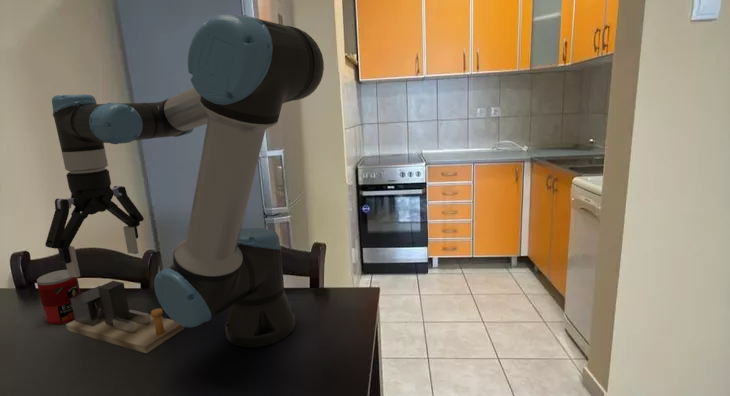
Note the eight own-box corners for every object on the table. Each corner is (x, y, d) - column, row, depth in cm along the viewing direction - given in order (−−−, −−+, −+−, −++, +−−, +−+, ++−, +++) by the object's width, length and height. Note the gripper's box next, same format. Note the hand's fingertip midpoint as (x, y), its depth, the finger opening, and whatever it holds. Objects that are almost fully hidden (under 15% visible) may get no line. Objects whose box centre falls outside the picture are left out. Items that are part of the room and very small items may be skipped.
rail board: (184, 328, 93) (183, 322, 92) (146, 353, 84) (145, 347, 83) (108, 309, 103) (107, 304, 102) (67, 330, 94) (65, 324, 94)
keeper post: (168, 331, 89) (164, 309, 88) (159, 336, 87) (155, 314, 86) (161, 329, 90) (157, 307, 89) (152, 334, 88) (148, 312, 87)
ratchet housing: (120, 312, 98) (115, 289, 97) (92, 326, 92) (87, 302, 91) (103, 308, 101) (99, 285, 99) (75, 321, 95) (70, 298, 93)
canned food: (65, 326, 96) (55, 283, 93) (38, 323, 97) (27, 281, 95) (92, 310, 103) (83, 270, 100) (66, 308, 105) (57, 268, 102)
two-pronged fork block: (150, 321, 93) (144, 285, 91) (132, 332, 89) (125, 294, 86) (96, 308, 100) (89, 274, 98) (77, 317, 96) (69, 282, 94)
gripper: (129, 160, 98) (142, 243, 103) (7, 180, 76) (33, 284, 81) (151, 161, 95) (164, 246, 100) (31, 182, 73) (56, 290, 78)
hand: (105, 263), depth 90 cm, fingers open, 13 cm apart
